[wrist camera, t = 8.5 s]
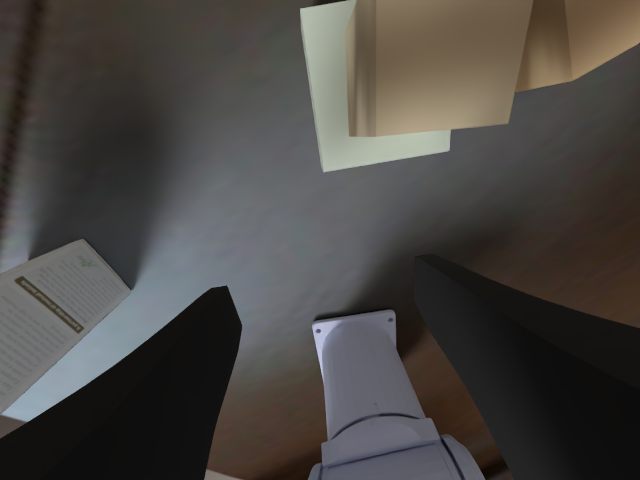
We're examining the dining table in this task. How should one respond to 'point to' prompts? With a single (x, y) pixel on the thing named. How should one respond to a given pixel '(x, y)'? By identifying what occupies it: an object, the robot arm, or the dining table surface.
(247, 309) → the dining table surface
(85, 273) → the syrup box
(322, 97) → the plinth block
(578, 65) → the oak block
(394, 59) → the maple block
